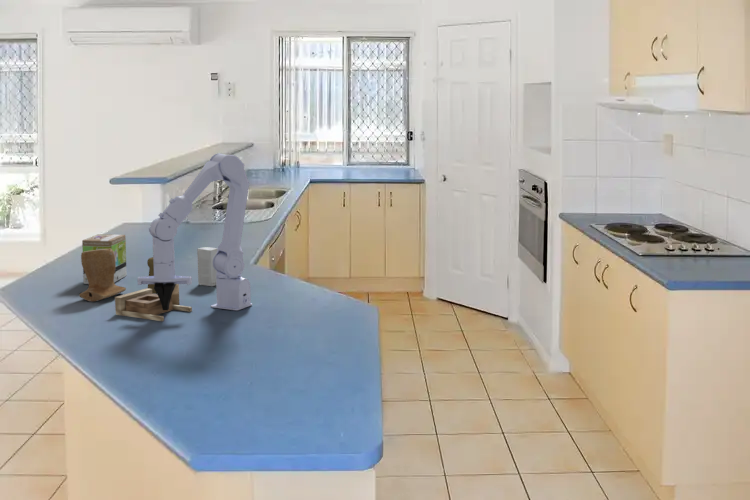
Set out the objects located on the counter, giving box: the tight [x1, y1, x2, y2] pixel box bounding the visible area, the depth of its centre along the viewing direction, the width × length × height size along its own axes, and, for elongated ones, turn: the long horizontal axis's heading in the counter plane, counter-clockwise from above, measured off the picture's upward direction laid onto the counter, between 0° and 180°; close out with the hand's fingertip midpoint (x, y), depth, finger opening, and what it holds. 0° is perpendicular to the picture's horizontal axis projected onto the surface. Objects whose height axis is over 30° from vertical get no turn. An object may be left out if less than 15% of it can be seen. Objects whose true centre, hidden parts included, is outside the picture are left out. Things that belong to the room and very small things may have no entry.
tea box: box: [81, 233, 128, 285], centre depth 277 cm, size 15×10×15 cm, turn 179°
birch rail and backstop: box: [114, 287, 193, 322], centre depth 233 cm, size 16×13×5 cm
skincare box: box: [196, 246, 218, 287], centre depth 270 cm, size 6×4×12 cm
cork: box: [147, 256, 157, 294], centre depth 260 cm, size 6×6×11 cm
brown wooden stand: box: [78, 248, 127, 303], centre depth 251 cm, size 15×12×15 cm
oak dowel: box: [172, 284, 180, 305], centre depth 243 cm, size 3×3×7 cm
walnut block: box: [126, 294, 173, 316], centre depth 234 cm, size 8×10×4 cm
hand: (165, 309), depth 231 cm, fingers closed
